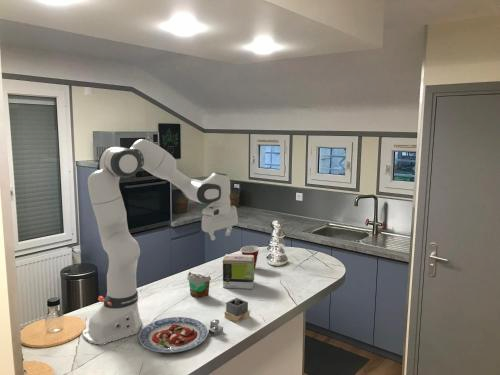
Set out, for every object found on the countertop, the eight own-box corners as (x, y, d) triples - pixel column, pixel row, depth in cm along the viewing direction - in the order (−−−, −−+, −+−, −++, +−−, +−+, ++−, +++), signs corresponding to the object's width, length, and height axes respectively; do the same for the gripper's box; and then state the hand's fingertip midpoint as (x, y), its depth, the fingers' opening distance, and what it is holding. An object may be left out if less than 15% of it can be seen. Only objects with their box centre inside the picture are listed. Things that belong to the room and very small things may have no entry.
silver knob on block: (213, 337, 156) (213, 324, 155) (208, 334, 158) (208, 322, 157) (223, 332, 159) (223, 320, 159) (217, 329, 161) (217, 317, 160)
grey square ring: (237, 316, 167) (237, 307, 166) (226, 311, 171) (226, 302, 171) (247, 311, 172) (247, 302, 171) (236, 306, 176) (236, 297, 175)
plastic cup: (237, 266, 232) (237, 246, 230) (255, 264, 235) (255, 244, 233) (243, 273, 222) (243, 251, 220) (261, 271, 225) (262, 250, 223)
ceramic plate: (177, 315, 173) (177, 309, 172) (221, 336, 157) (221, 329, 156) (125, 340, 153) (124, 332, 153) (169, 366, 137) (169, 358, 137)
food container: (182, 295, 192) (181, 275, 191) (189, 290, 198) (189, 271, 196) (203, 300, 187) (203, 280, 185) (211, 296, 192) (211, 275, 190)
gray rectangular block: (216, 329, 162) (216, 326, 162) (210, 329, 162) (210, 326, 161) (216, 324, 166) (216, 321, 165) (210, 324, 166) (210, 321, 165)
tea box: (254, 281, 210) (254, 254, 207) (252, 289, 200) (252, 261, 197) (225, 280, 211) (225, 253, 209) (222, 288, 201) (222, 259, 199)
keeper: (236, 322, 167) (236, 305, 166) (224, 317, 171) (224, 300, 170) (249, 316, 173) (249, 299, 171) (237, 310, 177) (237, 294, 176)
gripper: (231, 203, 193) (231, 232, 195) (199, 210, 178) (199, 241, 180) (241, 205, 189) (240, 234, 191) (209, 212, 174) (209, 244, 176)
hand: (220, 237), depth 186 cm, fingers open, 8 cm apart
